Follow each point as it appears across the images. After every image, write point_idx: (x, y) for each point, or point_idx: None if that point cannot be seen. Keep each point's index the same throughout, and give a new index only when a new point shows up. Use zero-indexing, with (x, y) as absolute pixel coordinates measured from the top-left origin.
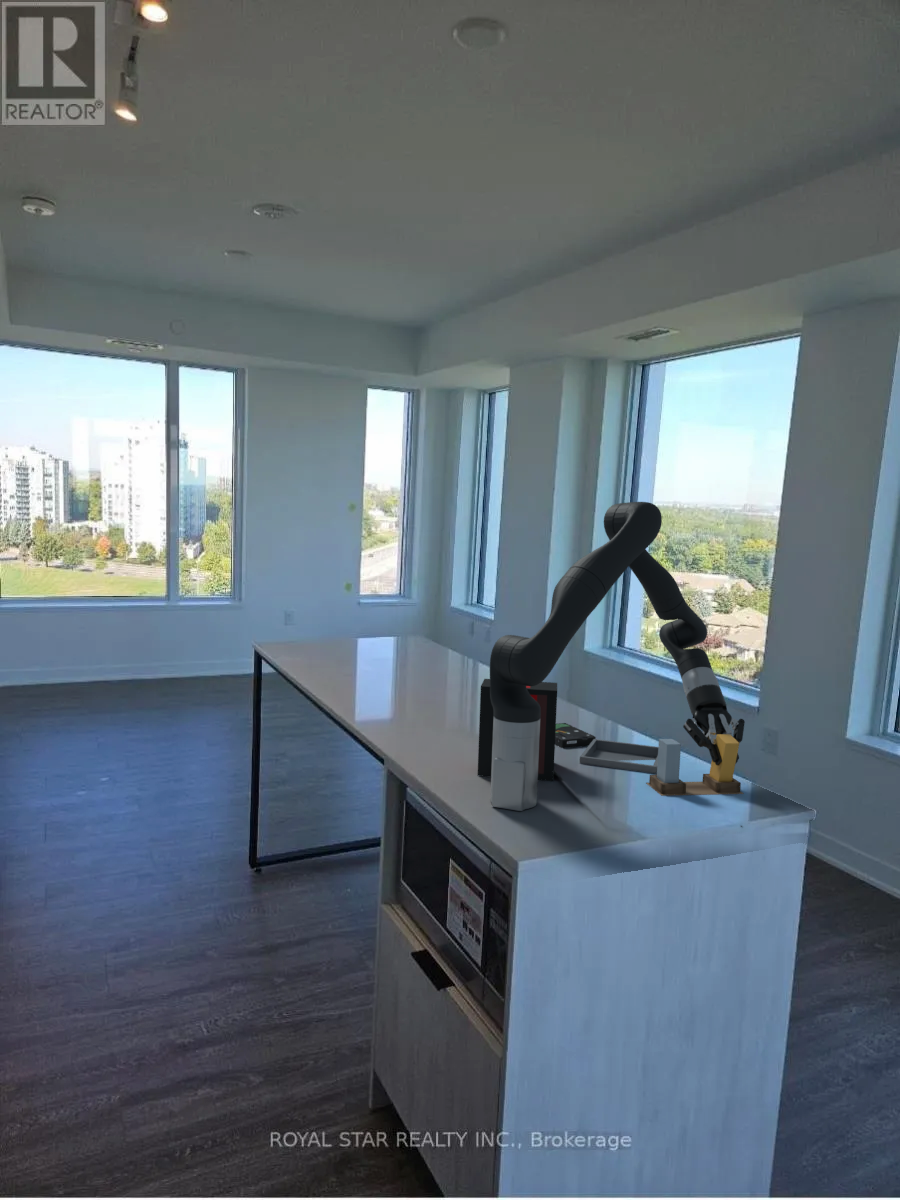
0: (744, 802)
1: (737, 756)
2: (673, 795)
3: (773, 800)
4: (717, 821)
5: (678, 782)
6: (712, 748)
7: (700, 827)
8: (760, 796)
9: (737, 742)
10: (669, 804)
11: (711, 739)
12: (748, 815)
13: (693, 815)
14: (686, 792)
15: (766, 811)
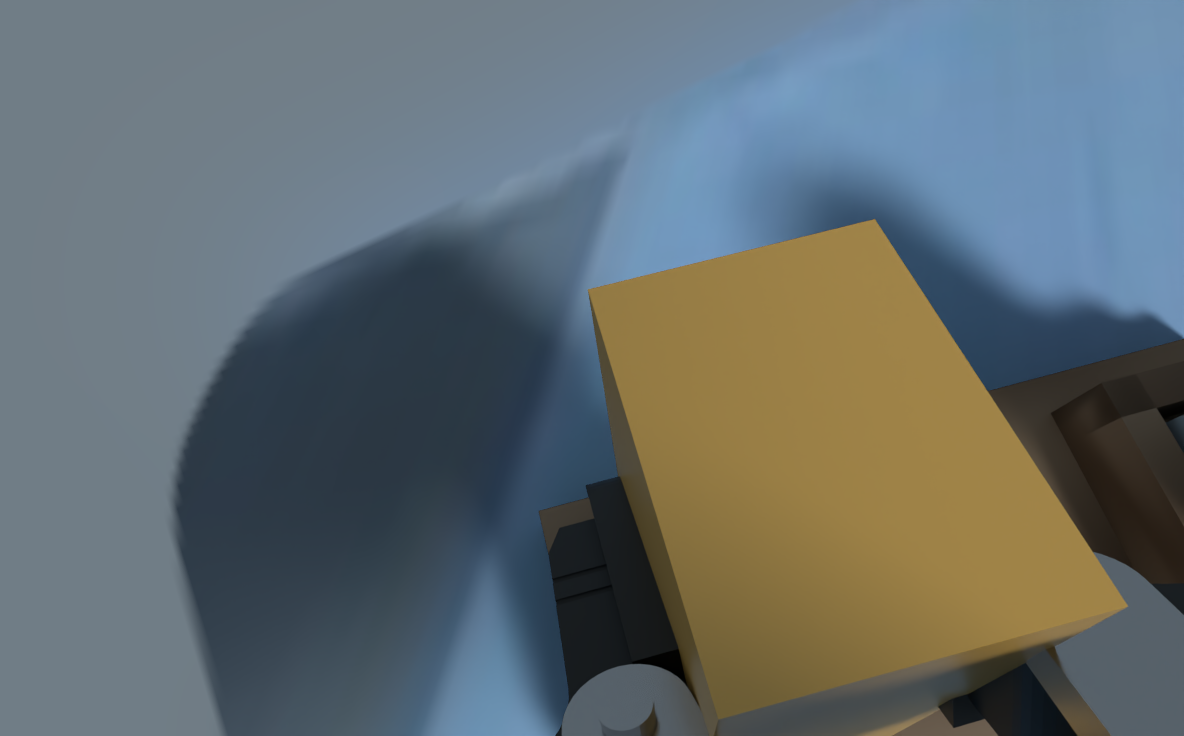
0: (550, 487)
1: (571, 552)
2: (1146, 350)
3: (290, 585)
4: (816, 110)
5: (1178, 419)
6: None
7: (923, 18)
8: (359, 675)
9: (619, 315)
10: (1131, 331)
11: (1160, 616)
12: (598, 234)
13: (958, 169)
14: (1043, 441)
15: (449, 328)
